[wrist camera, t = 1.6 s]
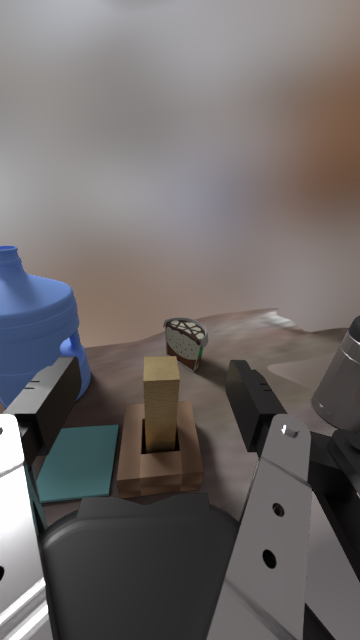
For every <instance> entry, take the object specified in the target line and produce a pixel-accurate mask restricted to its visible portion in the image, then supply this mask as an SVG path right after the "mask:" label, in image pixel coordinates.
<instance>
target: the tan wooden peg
mask: <svg viewBox="0 0 360 640" xmlns="http://www.w3.org/2000/svg"><path fill="white" fill-rule="evenodd" d="M143 384H144V409H145V434H146V454H151V453H162V452H173V451H174V448H175V435H176V422H177V410H178V397H179V384H180V377H179V371H178V364H177V358H176V356H167V357H144V379H143Z"/></svg>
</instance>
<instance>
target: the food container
mask: <svg viewBox="0 0 360 640" xmlns="http://www.w3.org/2000/svg"><path fill="white" fill-rule="evenodd" d="M164 327H165V334H166V352H167V355H168V356H176V358H177V362H178V363H180V364H181V365H183V366H184V367H186V368H187V369H189V370H190V371H192V372H193V373H194V372H195V371H196V370H197V369H198V367H199V363H200V359H201V355H202V351H203V348H204V347H205V346H206V345H207V343H208V334H207V331H206V328H205V327H204V326H203V325H202V324H201V323H200V322H198V321H195V320H193V319H189V318H170V319H167V320H165V322H164Z"/></svg>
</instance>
